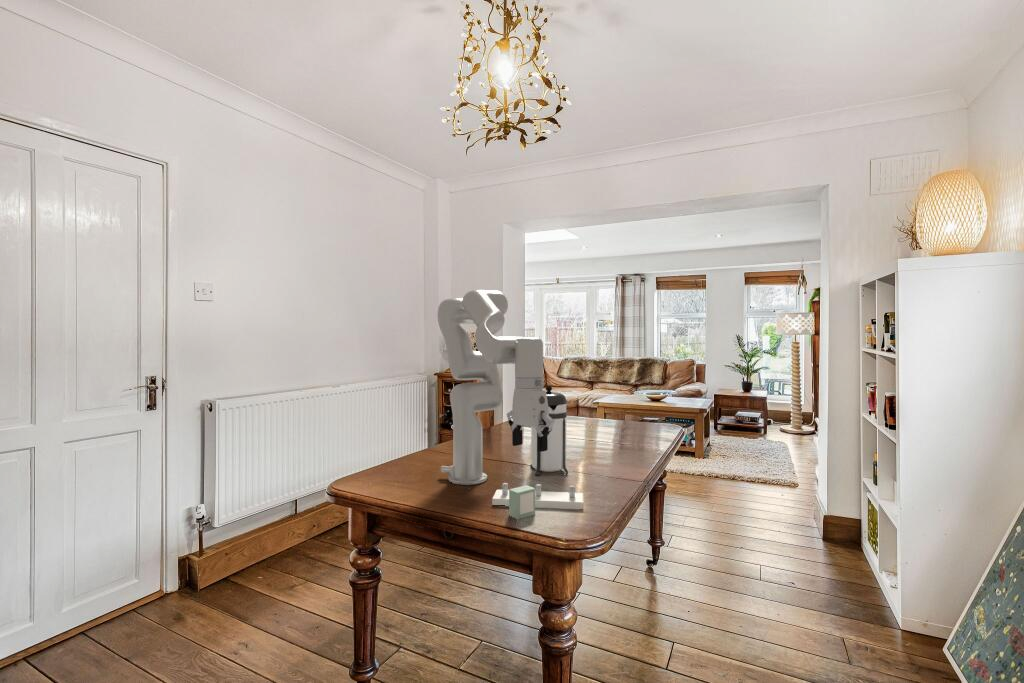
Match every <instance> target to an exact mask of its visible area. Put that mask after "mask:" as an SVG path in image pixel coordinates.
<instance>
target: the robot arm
mask: <svg viewBox="0 0 1024 683" xmlns="http://www.w3.org/2000/svg"><path fill="white" fill-rule="evenodd" d="M508 307H509V303H508V299H507V297H506V295H505V294H504V293H503V292H501V291H499V290H489V289H488V290H487V289H486V290H485V289H473V290H470V291H467V292H466V293H465V294H464V295H463V297H452V298H446V299H444V300H442V301H441V302H440V304H439V305H438V308H437V323H438V326H439V330H440V332H441V334H442V337H443V340H444V342H445V347H446V348H445V349H446V354H447V360H448V366H449V371H450V374H451V376H452V379H455V380H458V381H469V380H470V381H471V380H474V381H475V380H480V382H463V383H460V384H456V385H455V386H453V388H452V389H451V390H450V394H449V401H450V405H451V406H450V407H451V413H452V432H453V433H452V434H453V435H452V437H453V438H452V440H453V441H452V442H453V443H452V445H453V446H452V447H453V450H452V458H453V459H452V465H450V466H447V465H441V467H440V472H441V473H442V474H449V475H448V481H449V482H450V483H451V482H452V484H455V485H459V484H460V486H462V485H463V486H471V485H479V484H482V483H484V482H486V481H487V480H488V475H487V474H486V473H485V472H483V425H482V422H481V420H480V418H479V417H478V416H477V413H478V412H487V411H494V410H498V409H499V408H500V407H501V405H502V403H503V390H502V385H501V379H500V375H499V369H498V365H507V364H508V365H509V364H510V365H514V389H513V395H512V396H513V397H512V405H511V406H512V407H511V408H512V409H511V410H510V411H509V412H507V413H506V418H507V421H508V425H509V426H510V431H512V432H511V433H512V434H511V436H512V437H511V439H512V440H511V441H512V443H511V444H512V446H513V447H516V446H521V445H523V441H524V440H523V429H522V428H523V427H525V428H530V429H531V428H535V429H536V431H537V433H538V435H539V436H537V451H538V452H543V451H547V449H548V439H547V436H548V435H549V434H550V432H551V431H552V427H553V424H554V420H553V419H552V418H551V417H550V416H549V411H548V401H547V395H546V392H547V390H546V389H544V386H545V381H544V342H543V340H542V338H540V337H525V336H495V335H496V334H498V333H499V332H500V331H501V330H502V328H503V327H504V325H505V322H506V321H505V315H506V313H507V311H508V310H509V309H508ZM461 324H467V325H468V324H472V325H475V326H476V330H475V333H474V339H475V345H476V348H477V350H478V351H477V350H474V349H473V347H472V340H471V337H470V335H469V334H468V332H467V331H466V330H465V329H464V328H463V327H462V326H461ZM541 428H542V430H541Z"/></svg>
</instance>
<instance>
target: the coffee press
mask: <svg viewBox="0 0 1024 683" xmlns="http://www.w3.org/2000/svg"><path fill="white" fill-rule="evenodd" d="M544 390H545V391H546V395H547V401H548V411H549V416H550V417H551V418H552V419H553V420H554V424H553V427H552V431H551V432H550V434H549V435H548V436H547V439H548V449H547V451H543V452H538V451H537V436H539V435H538V433H537V431H536V429H535V428H530V429H531V437H530V438H531V439H530V440H531V442H530V444H531V445H530V446H531V455H530V456H531V463H530V465H529V467H530V469H531V468H534V469H535V472H534V475H535V477H541V475H542V473H543V472H549V473H550V472H560V473H561V474H562V475H563V476H567V475H568V474H569V471H568V469H567V467H566V466H567V416H568V411H567V404H568V400H567V397H566V396H565V394H563V393H561V392H557V391H556V392H555V391H552V390H553V387H552V385H550V384H548V385H546V386H545V389H544ZM541 430H542V428H541ZM564 474H566V475H564Z"/></svg>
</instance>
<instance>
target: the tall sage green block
mask: <svg viewBox="0 0 1024 683" xmlns="http://www.w3.org/2000/svg"><path fill="white" fill-rule="evenodd" d="M508 490H509V506H508V507H509V508H508V515H510V516H509V517H511V516H513V517H515V518H516V519H515V518H514V519H515V520H517V519H518V520H520V519H519V518H522V519H524V518H523V517H525V518H528V517H532V516H534V515H536V508H535V491H536V487H532V486H530V485H529V484H525V485H522V486H518V487H514V488H508ZM531 515H532V516H531ZM527 516H528V517H527ZM513 517H512V518H513Z"/></svg>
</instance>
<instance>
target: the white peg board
mask: <svg viewBox="0 0 1024 683" xmlns="http://www.w3.org/2000/svg"><path fill="white" fill-rule="evenodd" d="M501 485H502V486H501V489H496V491H494V492H495V493H494V495H492V502H491V503H492V505H505V506H504V507H509V483H508V482H504V483H501ZM568 488H569V489H568V491H569V492H567V491H565V492H564V491H544V490H543V491H542V484H539V483H537V484H535V509H536V508H541V509H558V510H559V509H561V510H579V509H583V510H584V493H583V492H576V485H569V486H568Z"/></svg>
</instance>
